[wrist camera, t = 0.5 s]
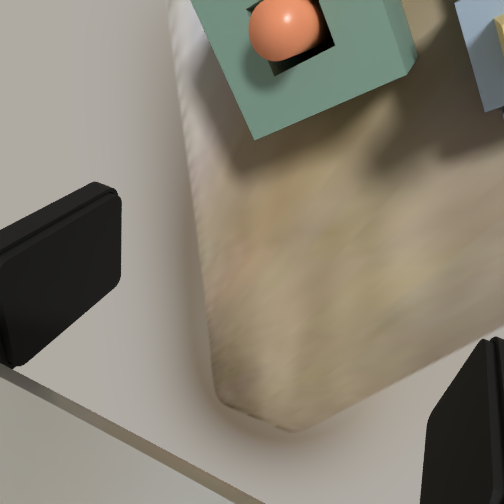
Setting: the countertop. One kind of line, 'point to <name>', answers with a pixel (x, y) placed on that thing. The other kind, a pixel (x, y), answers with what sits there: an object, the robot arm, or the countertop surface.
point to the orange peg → (287, 28)
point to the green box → (308, 59)
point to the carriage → (485, 46)
